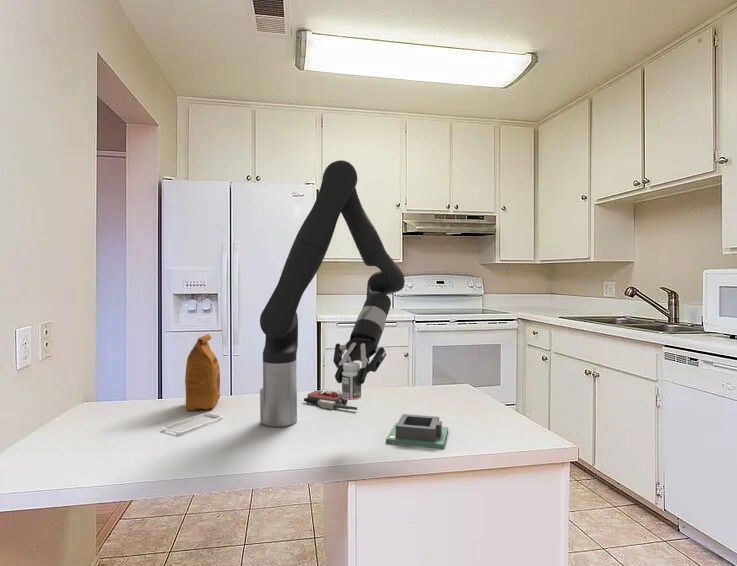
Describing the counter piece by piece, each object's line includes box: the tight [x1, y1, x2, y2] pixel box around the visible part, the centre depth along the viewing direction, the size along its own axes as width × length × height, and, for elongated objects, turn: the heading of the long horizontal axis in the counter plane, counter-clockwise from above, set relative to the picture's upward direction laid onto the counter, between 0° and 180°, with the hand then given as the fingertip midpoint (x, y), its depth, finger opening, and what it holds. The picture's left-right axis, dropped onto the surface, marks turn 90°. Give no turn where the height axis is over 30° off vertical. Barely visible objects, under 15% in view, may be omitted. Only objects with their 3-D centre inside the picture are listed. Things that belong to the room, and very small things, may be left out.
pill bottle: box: [341, 361, 362, 401], centre depth 110 cm, size 5×5×8 cm
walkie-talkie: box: [303, 389, 358, 411], centre depth 142 cm, size 9×4×20 cm
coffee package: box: [184, 333, 221, 412], centre depth 141 cm, size 10×12×22 cm
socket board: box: [385, 413, 449, 449], centre depth 114 cm, size 14×12×4 cm
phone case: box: [161, 412, 224, 436], centre depth 124 cm, size 7×1×15 cm
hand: (348, 382), depth 108 cm, fingers closed on pill bottle, 4 cm apart
